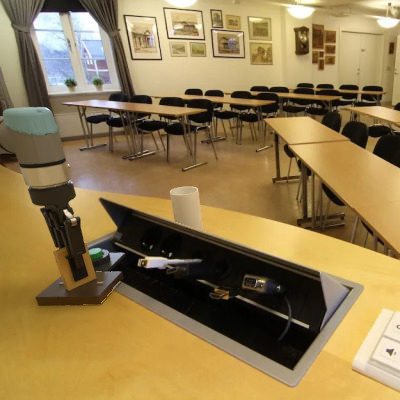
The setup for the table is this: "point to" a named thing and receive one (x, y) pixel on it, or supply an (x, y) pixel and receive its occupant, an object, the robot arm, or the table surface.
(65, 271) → the tan upright slab
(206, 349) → the table surface
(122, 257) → the block
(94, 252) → the release button
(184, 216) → the cup
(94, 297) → the lock plate
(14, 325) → the table surface
